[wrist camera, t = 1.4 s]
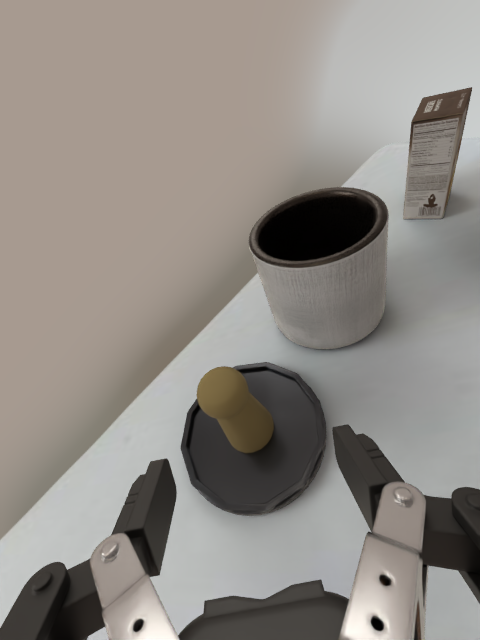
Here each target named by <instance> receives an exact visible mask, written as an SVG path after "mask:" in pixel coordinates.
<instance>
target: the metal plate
mask: <svg viewBox="0 0 480 640" xmlns="http://www.w3.org/2000/svg"><path fill="white" fill-rule="evenodd" d="M233 368H234V369H235V370H237V371H239V372H240V373H241V374H242V375H243V377H244V378H245V380H246V382H247V385H248V390H249V393H250V394H252V395H253V396H254V397H255V398H256V399H257V400H258V401H259V402H260V403H261V404H262V405H263V406H264V407H265V408H266V409H267V410H268V411H269V413H270V414H271V416H272V419H273V424H274V430H273V433H272V437H271V438H270V440H269V442H268V443H267V444H266V445H265V446H264V447H263V448H262V449H260V450H258V451H255V452H252V453H244V452H241V451H238V450H237V449H235V448H234V447H233V446H232V445H231V443H230V442H229V440H228V438H227V437H226V435H225V433H224V431H223V429H222V428H221V426H220V424H219V422H218V421H217V419H216V418H212V417H210V416H209V415H207V414H206V413H205V412H204V411H203V410H202V409H201V407H200V405H199V403H198V399H196V401H195V402H194V404H193V405H192V406H191V408H190V409H189V411H188V413H187V418H186V423H185V428H184V433H183V439H182V444H181V451H182V454H183V458H184V461H185V464H186V468H187V471H188V474H189V477H190V481H191V484H192V485H193V486H194V487H195V488H196V489H197V490H198V491H199V492H200V494H201V495H203V496H204V497H205V498H206V499H207V500H208V501H209V502H211V503H212V504H213V505H215V506H216V507H218V508H221V509H222V510H224V511H227V512H230V513H233V514H237V515H245V516H254V515H262V514H267V513H271V512H273V511H276V510H279V509H281V508H283V507H284V506H286V505H288V504H290V503H291V502H292V501H294V500H295V499H296V498H297V497H299V496H300V495H301V494H302V493H303V492H304V491H305V489H306V488H307V487H308V486H309V485H310V483H311V482H312V480H313V479H314V477H315V476H316V474H317V472H318V470H319V468H320V465H321V462H322V459H323V457H324V452H325V447H326V423H325V418H324V414H323V411H322V408H321V404H320V401H319V400H318V398H317V397H316V395H315V394H314V392H313V391H312V389H311V388H310V387H309V386H308V385H307V384H306V382H305V381H303V379H302V378H301V377H300V376H299V374H297V373H295V372H292V371H290V370H287V369H284V368H282V367H279V366H276V365H274V364H271V363H269V362H268V363H267V362H264V363H256V364H248V365H240V366H235V367H233Z"/></svg>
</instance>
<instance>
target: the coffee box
mask: <svg viewBox="0 0 480 640" xmlns="http://www.w3.org/2000/svg"><path fill="white" fill-rule="evenodd" d="M471 91H472V87H471V88H466V89H462V90H457V91H453V92H448V93H443V94H438V95H434V96H429V97H424V98H423V99H422V101H421V103H420V105H419V107H418V110H417V112H416V114H415V116H414V118H413V120H412V122H411V134H410V145H409V156H408V168H407V179H406V190H405V201H404V213H403V219H442V218H443V217H444V213H445V210H446V206H447V203H448V199H449V195H450V192H451V187H452V182H453V177H454V173H455V168H456V164H457V159H458V154H459V149H460V145H461V140H462V135H463V130H464V125H465V120H466V115H467V110H468V105H469V101H470V96H471Z"/></svg>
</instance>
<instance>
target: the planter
mask: <svg viewBox="0 0 480 640" xmlns="http://www.w3.org/2000/svg"><path fill="white" fill-rule="evenodd" d="M388 216H389V214H388V209H387V206H386V205H385V203H384V202H383V201H382V200H381V199H380V198H379V197H378V196H376V195H374V194H373V193H370V192H368V191H365V190H361V189H356V188H346V187H336V188H325V189H319V190H315V191H311V192H307V193H303V194H300V195H297V196H295V197H292V198H290V199H288V200H286V201H284V202H282V203H280V204H278V205H276V206H275V207H273V208H272V209H270V210H269V211H268V212H267V213H265V214H264V215H263V216H262V217H261V218H260V219H259V220H258V221H257V222H256V224H255V225H254V227H253V228H252V230H251V233H250V236H249V248H250V251H251V254H252V256H253V259H254V262H255V265H256V268H257V270H258V273H259V276H260V279H261V282H262V285H263V288H264V291H265V294H266V297H267V300H268V303H269V306H270V308H271V311H272V314H273V317H274V320H275V322H276V324H277V326H278V328H279V329H280V331H281V332H282V333H283V334H284V335H285V336H286V337H287V338H288V339H289V340H291V341H293V342H294V343H296V344H299V345H301V346H304V347H308V348H314V349H334V348H340V347H344V346H348V345H350V344H353V343H355V342H357V341H359V340H361V339H363V338H364V337H366V336H367V335H369V334H370V333H371V332H372V331H373V330H374V329H375V328H376V327H377V325H378V324H379V322H380V321H381V319H382V316H383V313H384V309H385V302H386V268H387V238H388Z"/></svg>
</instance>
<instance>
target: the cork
mask: <svg viewBox="0 0 480 640" xmlns="http://www.w3.org/2000/svg"><path fill="white" fill-rule="evenodd" d="M197 399H198V403H199V405H200V407H201V409H202V410H203V411H204V412H205V413H206V414H207V415H209V416H210V417H212V418H216V419H217V421H218V422H219V424H220V426H221V428H222V429H223V431H224V433H225V435H226V437H227V438H228V440H229V442H230V443H231V445H232V446H233V447H234V448H235V449H237V450H238V451H241V452H244V453H252V452H255V451H258V450H260V449H262V448H263V447H264V446H265V445H266V444H267V443H268V442H269V440H270V438H271V437H272V433H273V430H274V424H273V419H272V416H271V414H270V413H269V411H268V410H267V409H266V408H265V407H264V406H263V405H262V404H261V403H260V402H259V401H258V400H257V399H256V398H255V397H254V396H253V395H252V394H250V393H249V390H248V385H247V382H246V380H245V378H244V377H243V375H242V374H241V373H240V372H239V371H237V370H235V369H234V368H231V367H217V368H214V369H212V370H210V371H209V372H208V373H206V374H205V375H204V376H203V378H202V379H201V381H200V383H199V385H198V390H197Z"/></svg>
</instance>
